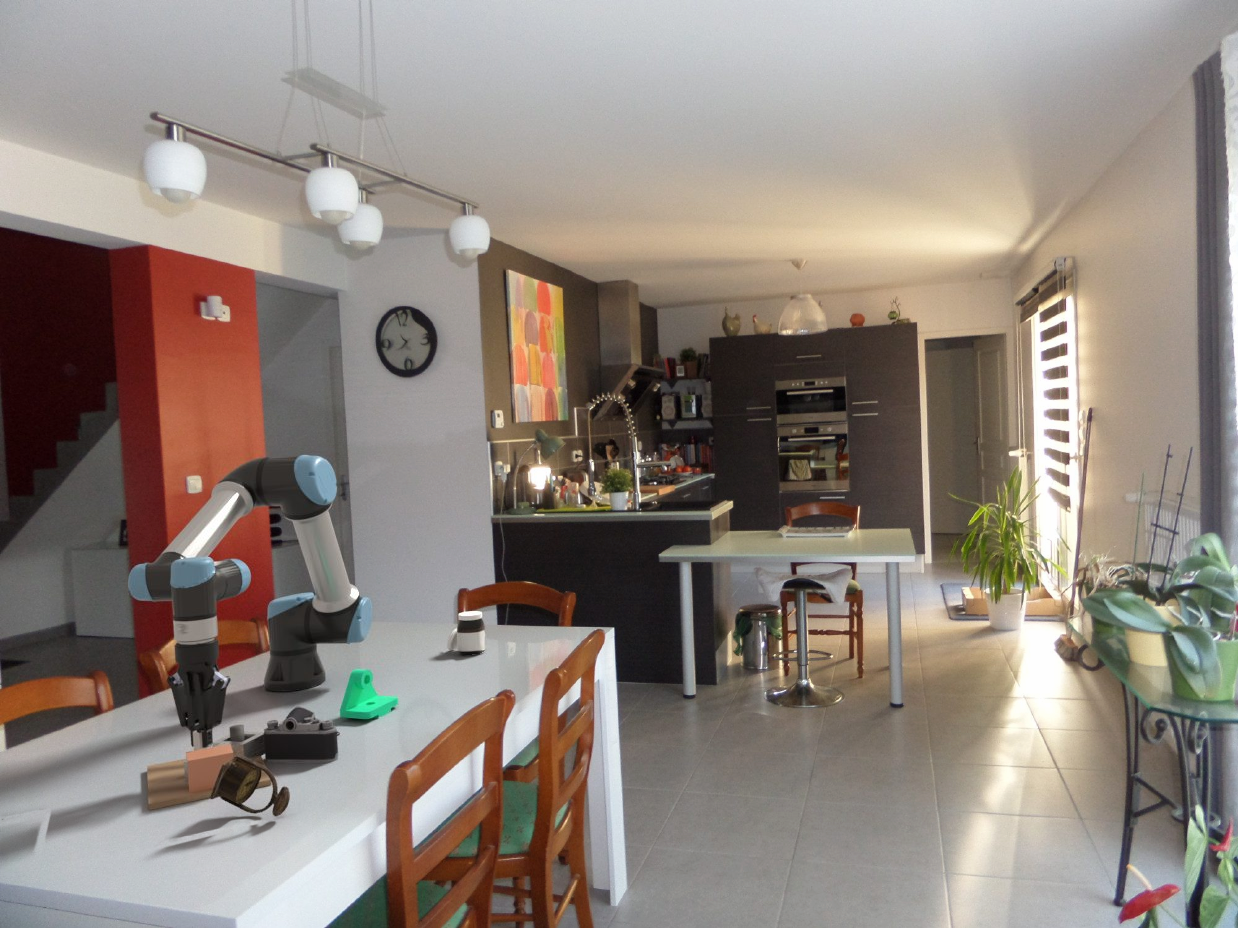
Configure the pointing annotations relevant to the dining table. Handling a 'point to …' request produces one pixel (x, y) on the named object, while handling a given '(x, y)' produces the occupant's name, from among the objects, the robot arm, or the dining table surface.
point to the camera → (301, 738)
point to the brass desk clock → (247, 785)
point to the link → (240, 747)
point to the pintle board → (170, 779)
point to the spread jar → (468, 634)
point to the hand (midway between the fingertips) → (203, 763)
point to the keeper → (206, 766)
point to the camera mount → (364, 698)
